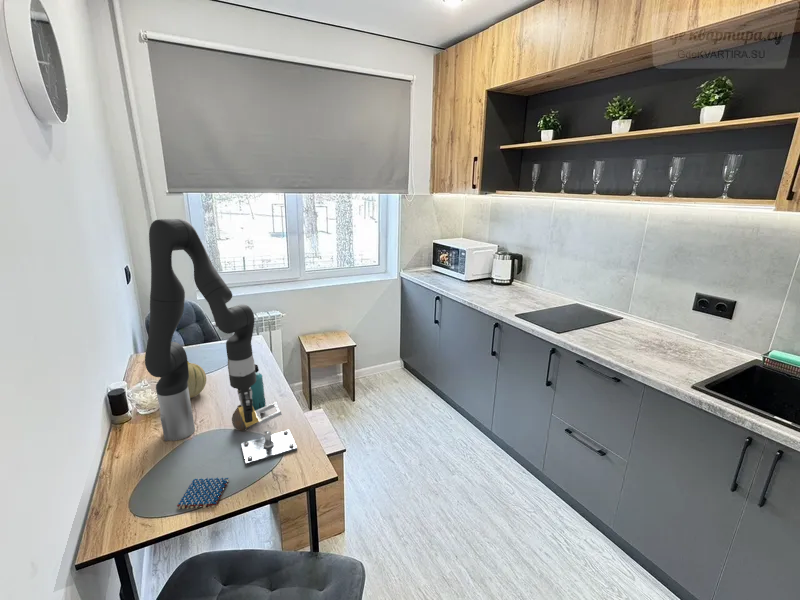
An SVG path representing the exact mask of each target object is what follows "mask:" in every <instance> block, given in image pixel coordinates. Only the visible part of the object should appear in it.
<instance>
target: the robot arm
mask: <svg viewBox="0 0 800 600" xmlns="http://www.w3.org/2000/svg"><path fill="white" fill-rule="evenodd" d="M148 244H149V257H150V292H149V293H150V295H149V298H150V299H149V322H148V336H147V343H146V349H145V356H144V365H145V369H146V370H147V372H148V373H149V374H150V375H151V376H153V377H154V378H159V380H158V381H157V383H156V385H155V390H156V397H157V401H158V406H159V412H160V416H159V417H160V421H161V429H162V433H163V438H164V441H165V442H167V441H174V442H175V441H180V440H183V439H186V438H189V436H191V435H192V434H193V433H194V432H195V431H196V430H195V429H196V428H195V427H196V426H195V422H194V421H195V420H194V415H193V408H192V403H191V402H192V401H191V398H190V395H189V389H188V379H189V370H188V362H189V361H188V356H187V351H186V350H185V348H184V347H183V346H182V344H180V343H179V342H176V341H173V336H174V334H175V332H176V330H177V328H178V326H179V323H180V321H181V320H182V317H183V313H184V311H185V310H184V309H185V298H186V294H185V293H186V291H185V288H184V286H183V284H182V282H181V281H180V279H179V277H178V276H177V275H176V273H175V271H174V269H173V260H172V255H173V252H174V251H184V252H185V253H186V254H187V255H188V256H189V258H190V260H191V261H192V266H193V279H194V283H195V286H196V287H197V290H198V291H199V292H200V294H201V295H202V296H203V298H204V299H205V302H207V303H208V306H209V308H210V311H211V313H212V316H213V320H214V323H215V325H216V327H217V328H218V330H220V332H223V333H224V334H226V335H227V334H229V335H230V334H232V336H231V337H229V338H228V339H227V340H226V342H225V348H226V356H227V371H228V376H229V377H228V378H229V385H230V387H231V388H233V389H235V390H236V392H237V396H238V399H239V401H240V405H241V406H242V407H243V412H244V417H245V422H246V423H248V422H252V421H253V418H252V412H253V406H252V404H253V400H252V389H251V386H252V385H254V384H255V382H256V372H255V359H254V354H253V348H252V346H253V345H252V338H253V333H254V327H255V314H254V311H253V309H251V307H250V306H249V305H248V304H244V303H242V304H237V305H233V306H231V307H228V306H227V303H229V302H230V301H231V299H232V298H233V293H232V291H231V289H230V287H229V286H228V285H227V284H226V282H225V280H224V279H223V278H222V277H221V276H220V274H219V272H218V271H217V269H216V268H215V266H214V264H213V263H212V260H211V258H210V256H209V254H208V252H207V250H206V248H205V246H204V245H203V242H202V240H201V238H200V236H199V234H198V232H197V231H196V229H195V227H194V226H193V225H192V224H191V222H189V221H188V220H186V219H183V218H167V219H166V218H162V219H161V218H160V219H156V220H154V221H152V223H151V224H150V226H149V231H148Z"/></svg>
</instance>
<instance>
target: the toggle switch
mask: <svg viewBox="0 0 800 600" xmlns="http://www.w3.org/2000/svg"><path fill="white" fill-rule="evenodd" d="M263 435H264V436H262V437H258V438H255V439H251V440H247V441H244V442H241V443H240V445H241V450H242V454H243V459H245V460H244V462H245V466H246V465H247V466H250V464H251V465H254V464H256V463H260V462H263V461H267V460H269V459H273V458H276V457H277V458H278V457H279V456H282V455H286V454H289V453H292V452H295V451H298V446H297V444H296V442H295V439H294V438H293V434H292V433H291V431H290V429H286V430H283V431H280V432H276V433H273V434H272V431H271V430H266V431H264V434H263ZM253 463H254V464H253Z"/></svg>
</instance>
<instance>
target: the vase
mask: <svg viewBox="0 0 800 600" xmlns="http://www.w3.org/2000/svg"><path fill="white" fill-rule="evenodd" d="M239 407H241V404H238V405H237V407H236V409H235V411H233V413H232V417H231V424H232V426H233V428H234V429H236V431H240V432H243V431H246V430H248V429H249V428H250V427H251V426H248V427H246V426H245V423H244V421H243V419H242V417H241V414H240V412H239Z"/></svg>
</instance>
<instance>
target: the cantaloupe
mask: <svg viewBox="0 0 800 600" xmlns="http://www.w3.org/2000/svg"><path fill="white" fill-rule="evenodd" d="M188 370H189V379H188V389H189V395H190V399H191V398H195V397H197V396H198V395H199V394H200V393H201V392H203V390H204V389H205V387H206V384H207V373H206V372H205V370H204V369H203V368H202V367H201V366H200V365H199V364H196V363H193V362H189V361H188Z"/></svg>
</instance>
